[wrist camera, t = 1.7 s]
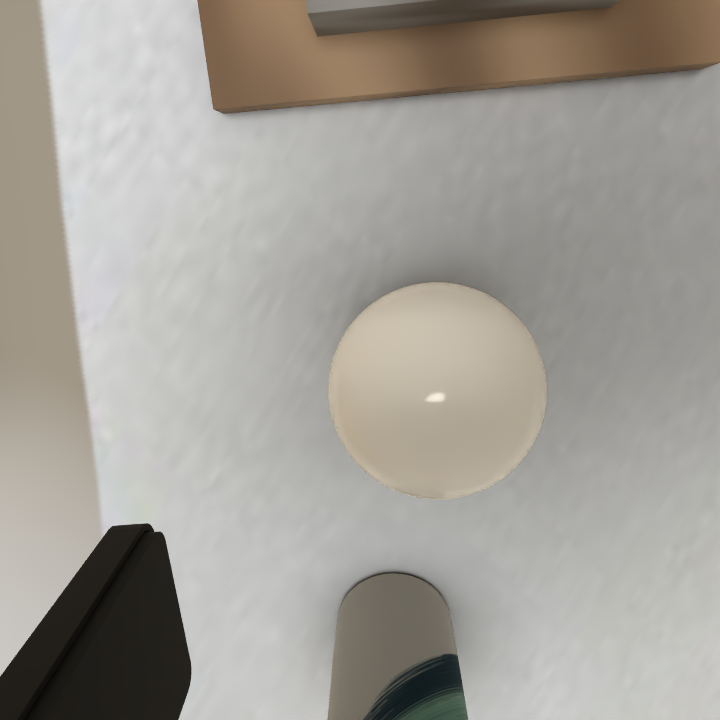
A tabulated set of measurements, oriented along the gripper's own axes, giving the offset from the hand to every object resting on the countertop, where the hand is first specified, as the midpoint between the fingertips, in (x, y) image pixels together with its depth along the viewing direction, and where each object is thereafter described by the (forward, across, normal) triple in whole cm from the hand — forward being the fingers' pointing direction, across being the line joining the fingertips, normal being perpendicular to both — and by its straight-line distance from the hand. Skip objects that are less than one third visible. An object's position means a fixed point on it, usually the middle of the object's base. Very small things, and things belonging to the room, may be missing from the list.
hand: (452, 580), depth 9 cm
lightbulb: (+16, -1, 0) cm, 16 cm away
